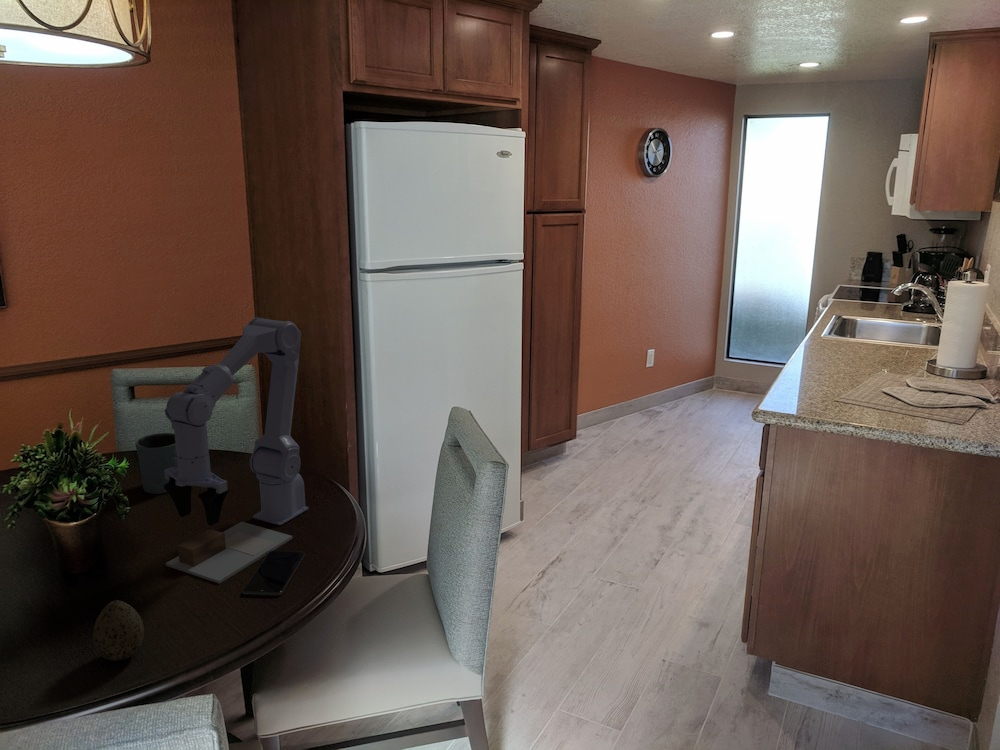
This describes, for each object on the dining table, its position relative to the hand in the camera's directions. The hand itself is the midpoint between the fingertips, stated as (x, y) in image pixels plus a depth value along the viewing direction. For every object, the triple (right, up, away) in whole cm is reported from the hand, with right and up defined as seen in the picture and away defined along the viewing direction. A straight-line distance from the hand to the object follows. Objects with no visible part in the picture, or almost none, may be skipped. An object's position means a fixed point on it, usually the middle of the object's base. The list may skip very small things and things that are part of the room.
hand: (199, 519), depth 147 cm
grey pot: (-22, +1, +35) cm, 42 cm away
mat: (+5, -7, +5) cm, 10 cm away
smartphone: (+16, -10, -3) cm, 19 cm away
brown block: (0, -8, +2) cm, 8 cm away
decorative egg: (-1, -17, -28) cm, 32 cm away
